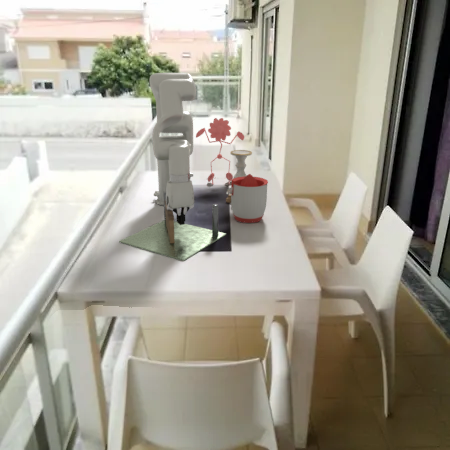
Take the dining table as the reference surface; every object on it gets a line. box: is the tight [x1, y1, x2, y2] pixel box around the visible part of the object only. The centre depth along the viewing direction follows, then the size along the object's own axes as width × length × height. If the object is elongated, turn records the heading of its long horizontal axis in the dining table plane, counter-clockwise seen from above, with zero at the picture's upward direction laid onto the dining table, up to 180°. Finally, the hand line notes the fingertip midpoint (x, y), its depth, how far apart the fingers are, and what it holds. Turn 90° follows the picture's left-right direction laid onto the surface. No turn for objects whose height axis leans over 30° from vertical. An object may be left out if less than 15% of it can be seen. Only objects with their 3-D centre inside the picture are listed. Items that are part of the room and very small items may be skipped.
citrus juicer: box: [226, 173, 269, 224], centre depth 185 cm, size 16×17×20 cm
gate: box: [164, 201, 175, 243], centre depth 168 cm, size 20×2×10 cm, turn 12°
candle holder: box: [225, 149, 253, 204], centre depth 208 cm, size 11×11×24 cm
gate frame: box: [119, 192, 227, 262], centre depth 165 cm, size 30×28×14 cm
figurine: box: [195, 117, 245, 186], centre depth 239 cm, size 15×26×35 cm, turn 98°
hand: (181, 223), depth 168 cm, fingers closed
